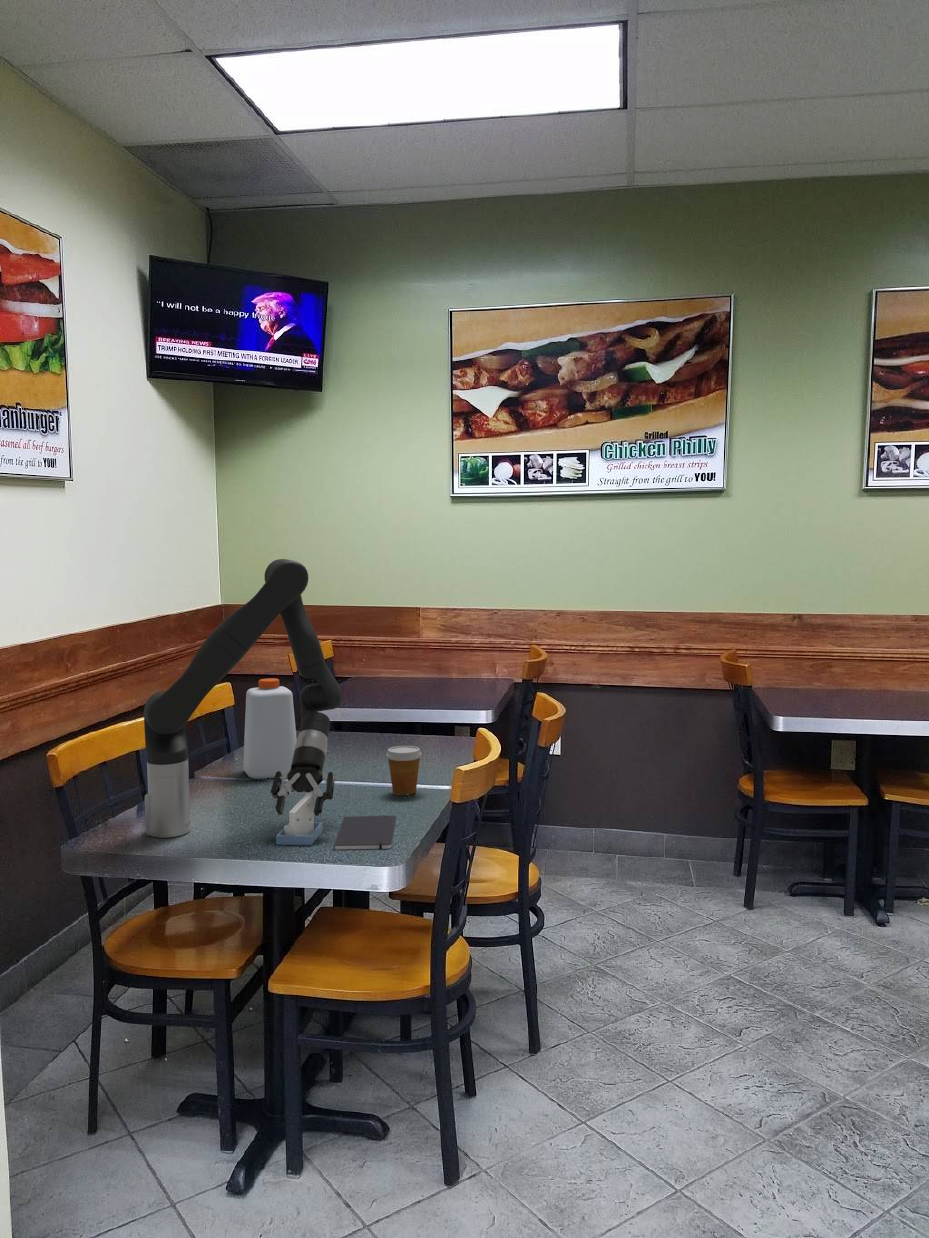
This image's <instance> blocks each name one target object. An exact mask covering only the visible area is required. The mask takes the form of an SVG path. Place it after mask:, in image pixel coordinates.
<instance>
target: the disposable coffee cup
mask: <svg viewBox="0 0 929 1238" xmlns="http://www.w3.org/2000/svg"><path fill="white" fill-rule="evenodd" d="M421 756H422V752H421V749H420V748H419V747H418V746H414V745H397V746H392V747H390V748H388V749H387V752H386V757H387V760H388V768H389V774H390V781H391V790H392V794H393V793H395V794H399V795H407V794H413V793H415V792H416V793H417V787H418V785H417V784H418V777H419V769H420V759H421ZM416 793H415V794H416ZM395 794H394V795H395ZM399 795H398V796H399ZM413 795H414V794H413Z"/></svg>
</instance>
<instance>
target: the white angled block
mask: <svg viewBox="0 0 929 1238" xmlns="http://www.w3.org/2000/svg"><path fill="white" fill-rule="evenodd" d="M314 808H315V806H314V792H311V791H310V792H305V794H304V796H303V797H302V798H301V799H300V800H298V802H297V803H296V804H295V805H294V806H293V807H292V808H291V809H290V810H289V812H288V816H289V817H288V820H289V821H288V822H289V824H288V825H284V826H283V828H284V835H304V836H310V835H311V834H312V832H313V831H314V821H315V814H314Z"/></svg>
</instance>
